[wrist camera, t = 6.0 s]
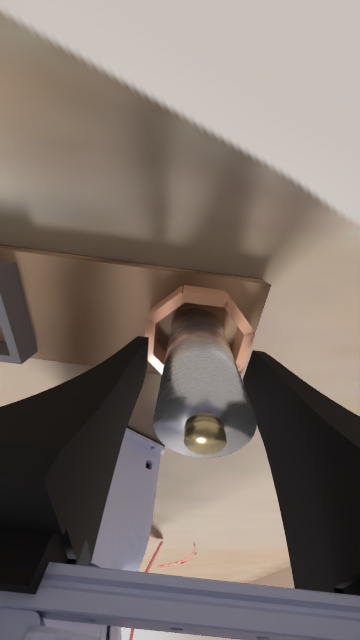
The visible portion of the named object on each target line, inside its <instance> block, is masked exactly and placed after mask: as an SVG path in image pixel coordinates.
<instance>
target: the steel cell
mask: <svg viewBox="0 0 360 640" xmlns="http://www.w3.org/2000/svg"><path fill="white" fill-rule="evenodd" d="M256 425H257V423H256V417H255V414H254V411H253V408H252V405H251V403H250V400H249V397H248V395H247V392H246V389H245V387H244V384H243V381H242V379H241V376H240V373H239V370H238V368H237V365H236V362H235V360H234V357H233V354H232V352H231V349H230V346H229V343H228V341H227V338H226V335H225V333H224V330H223V327H222V325H221V322H220V320H219V319H218V317H217V316H216V315H215V314H213V313H212V312H210V311H208V310H205V309H201V308H192V309H188V310H185V311H183V312H182V313H180V314H179V315H178V316H177V317H176V318H175V319H174V321H173V322H172V325H171V329H170V335H169V340H168V345H167V351H166V356H165V361H164V367H163V372H162V377H161V383H160V388H159V393H158V399H157V404H156V409H155V415H154V420H153V427H154V431H155V433H156V435H157V437H158V439H159V440H160V441H161V442H162V443H163V444H164V445H165V446H167V447H168V448H170V449H171V450H173V451H175V452H177V453H180V454H183V455H186V456H191V457H198V458H212V457H219V456H224V455H227V454H230V453H233V452H235V451H237V450H239V449H240V448H242V447H243V446H245V445H246V444H247V443H248V442H249V441H250V440H251V438H252V437H253V435H254V433H255V430H256Z"/></svg>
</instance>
